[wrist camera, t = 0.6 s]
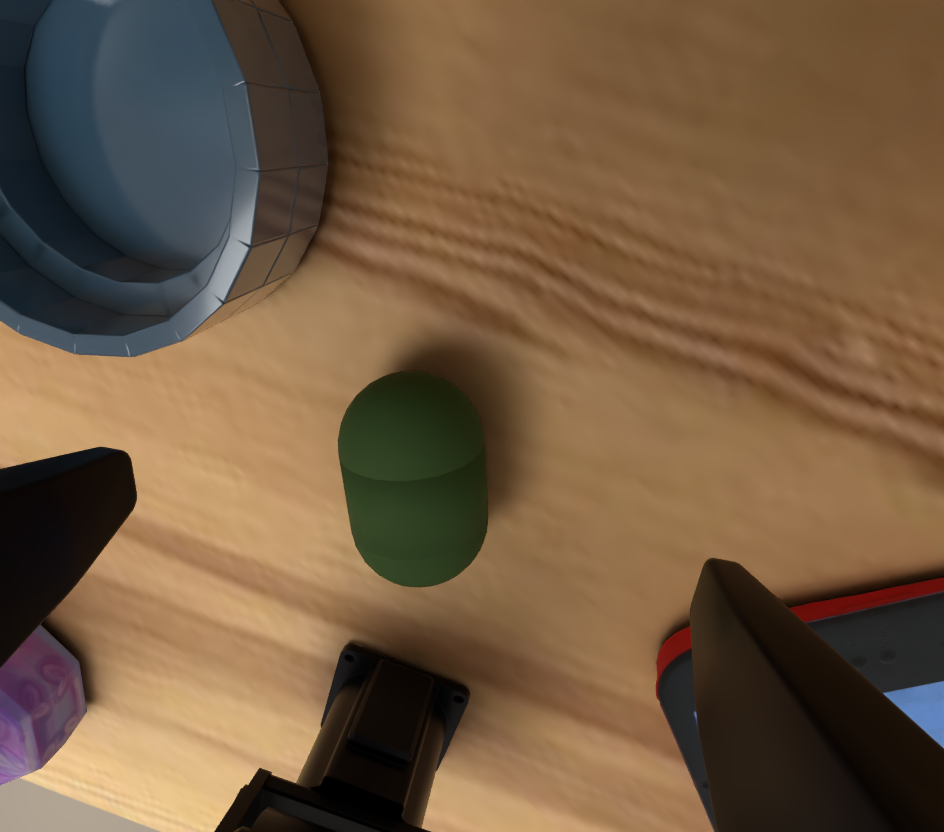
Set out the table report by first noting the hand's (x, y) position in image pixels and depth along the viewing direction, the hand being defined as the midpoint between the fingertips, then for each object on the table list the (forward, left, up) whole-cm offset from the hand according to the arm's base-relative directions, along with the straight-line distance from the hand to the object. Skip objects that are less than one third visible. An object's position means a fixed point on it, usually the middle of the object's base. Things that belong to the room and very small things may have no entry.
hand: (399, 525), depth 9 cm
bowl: (+2, +13, -13) cm, 18 cm away
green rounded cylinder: (-6, +1, -13) cm, 14 cm away
